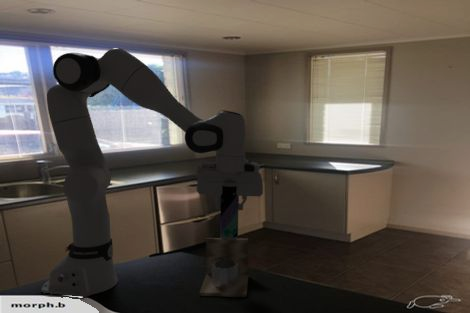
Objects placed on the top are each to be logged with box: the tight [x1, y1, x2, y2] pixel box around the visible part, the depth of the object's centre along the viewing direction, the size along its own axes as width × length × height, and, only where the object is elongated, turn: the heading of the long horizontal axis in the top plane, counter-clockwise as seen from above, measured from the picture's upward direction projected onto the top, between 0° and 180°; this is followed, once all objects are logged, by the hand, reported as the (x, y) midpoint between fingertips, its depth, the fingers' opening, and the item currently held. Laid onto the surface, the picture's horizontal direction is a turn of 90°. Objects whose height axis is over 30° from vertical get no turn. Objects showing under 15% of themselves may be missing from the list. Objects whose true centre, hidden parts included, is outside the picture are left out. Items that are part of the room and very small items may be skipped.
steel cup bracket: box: [212, 257, 238, 289], centre depth 112 cm, size 8×10×6 cm
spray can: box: [219, 180, 240, 240], centre depth 108 cm, size 6×6×20 cm
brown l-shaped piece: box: [198, 237, 250, 298], centre depth 111 cm, size 14×14×13 cm
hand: (229, 209), depth 108 cm, fingers closed on spray can, 5 cm apart
